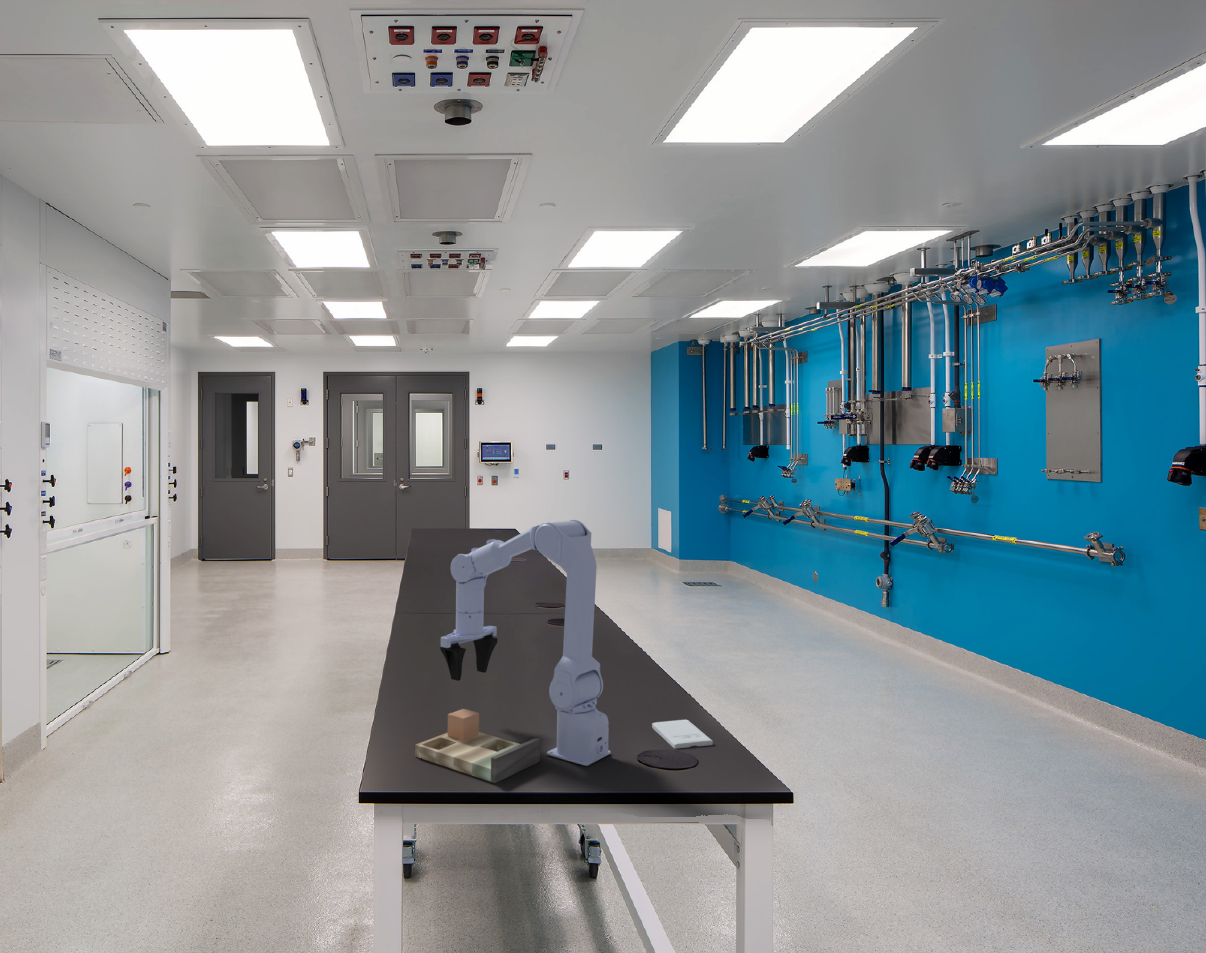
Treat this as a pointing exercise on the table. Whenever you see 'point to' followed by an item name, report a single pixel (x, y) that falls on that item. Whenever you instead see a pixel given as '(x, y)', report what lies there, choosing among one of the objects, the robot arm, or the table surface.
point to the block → (463, 724)
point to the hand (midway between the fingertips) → (469, 675)
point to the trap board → (480, 755)
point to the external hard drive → (681, 734)
